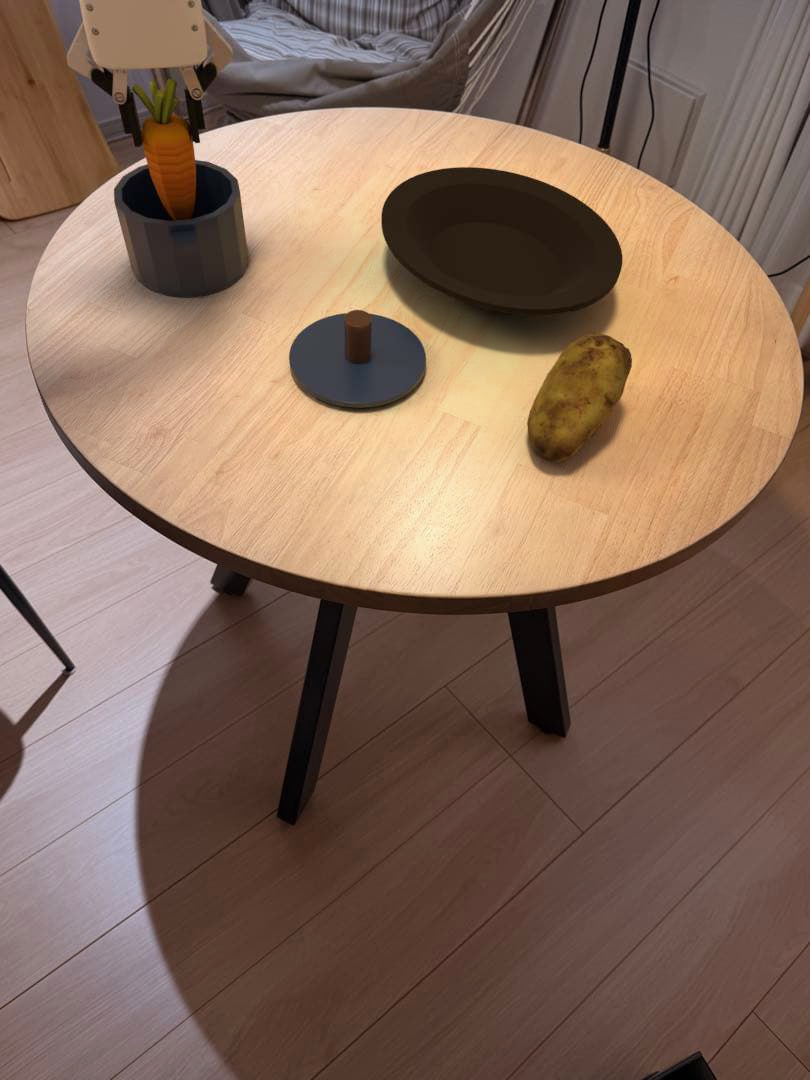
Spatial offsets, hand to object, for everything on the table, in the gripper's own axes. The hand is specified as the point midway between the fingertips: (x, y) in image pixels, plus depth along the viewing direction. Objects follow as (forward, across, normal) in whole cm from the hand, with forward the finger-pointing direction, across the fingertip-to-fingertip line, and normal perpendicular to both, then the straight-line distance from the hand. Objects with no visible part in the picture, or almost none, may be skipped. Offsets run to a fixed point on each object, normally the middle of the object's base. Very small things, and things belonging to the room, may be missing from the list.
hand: (166, 136), depth 77 cm
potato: (+14, -33, +32) cm, 48 cm away
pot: (+14, 0, 0) cm, 14 cm away
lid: (+13, -15, +20) cm, 28 cm away
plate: (+14, -33, +8) cm, 37 cm away
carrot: (+10, 0, 0) cm, 10 cm away
